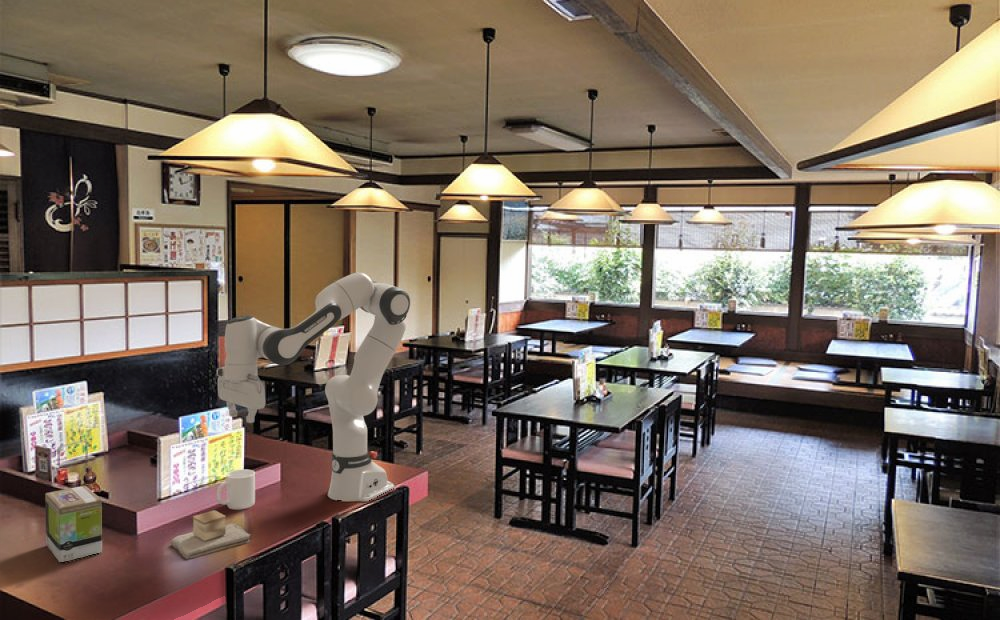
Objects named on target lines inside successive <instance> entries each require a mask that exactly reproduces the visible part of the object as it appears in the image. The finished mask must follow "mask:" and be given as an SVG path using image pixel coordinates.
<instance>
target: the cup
mask: <svg viewBox="0 0 1000 620" xmlns="http://www.w3.org/2000/svg"><path fill="white" fill-rule="evenodd" d="M225 486H226V500H225V499H224V500H223V499H222V497H221V492H222V489H223V487H225ZM216 499H217V502H218V504H221V505H227V507H228V509H230V510H235V511H237V510H246V509H249V508H251V507H253V506H254V505H255V502H256V472H255V470H252V469H247V468H246V469H242V468H241V469H235V470H232V471H229V472H228V473H226V481H222V482H221V483H219V485H218V486H217V490H216Z"/></svg>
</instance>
